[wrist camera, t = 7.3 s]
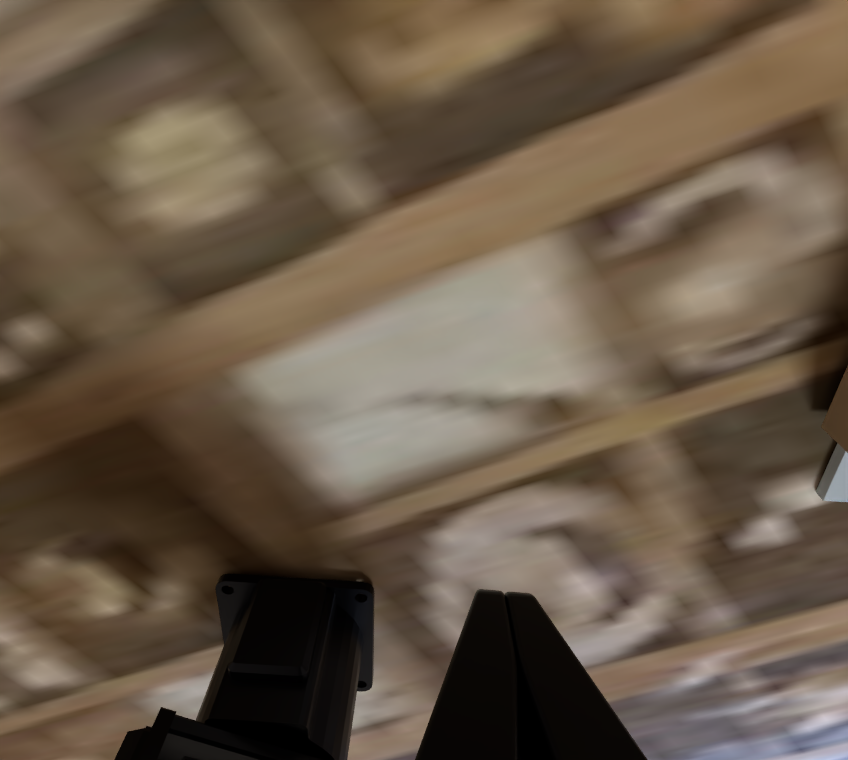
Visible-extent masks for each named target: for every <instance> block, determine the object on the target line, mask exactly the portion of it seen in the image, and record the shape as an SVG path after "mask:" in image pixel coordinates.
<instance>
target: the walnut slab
mask: <svg viewBox="0 0 848 760" xmlns="http://www.w3.org/2000/svg"><path fill="white" fill-rule="evenodd" d="M821 427H822V428H823V429H824V430H825V431H826V432H827V433H828V434H829V435H830V436H831V437H832V438H833V439H834V440H835V441H836V442H837V443H838V444H839V445H840V446H841V447H842V448H843V449H844V450H845V451H846V452H847V453H848V366H847V369H846V371H845V373H844V375H843V378H842V380H841V382H840V385H839V387H838V389H837V392H836V394H835V396H834V398H833V401H832V403H831V405H830V408H829V410H828V412H827V415H826V417H825V419H824V421H823V424H822V426H821Z"/></svg>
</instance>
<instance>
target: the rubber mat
mask: <svg viewBox="0 0 848 760" xmlns="http://www.w3.org/2000/svg"><path fill="white" fill-rule="evenodd" d="M816 493H817V494H818V495H819V496H820V497H821V499H822V500H823V501H838V502H848V453H847V452H846V451H845V450H844V449H843V448H842V447H841V446H840V445H839V444H838V443H837V445H836V447H835V450H834V452H833V454H832V456H831V459H830V461H829V463H828V465H827V468H826V470H825V472H824V474H823V477H822V479H821V481H820V483H819V486H818V488H817V490H816Z"/></svg>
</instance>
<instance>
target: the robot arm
mask: <svg viewBox="0 0 848 760" xmlns="http://www.w3.org/2000/svg"><path fill="white" fill-rule="evenodd" d="M229 586H231V587H229ZM361 594H365V595H361ZM216 595H217V601H218V607H219V614H220V620H221V626H222V633H223V639H224V647H223V650H222V653H221V655H220V658H219V660H218V663H217V666H216V668H215V671H214V674H213V676H212V679H211V681H210V684H209V687H208V689H207V692H206V695H205V697H204V700H203V703H202V705H201V708H200V710H199V713H198V716H197V718H196V721H195V720H192V719H188V718H185V717H182V716H178V715H175V714H176V711H173V710H169V709H166V708H163V707H161V709H160V711H159V713H158V715H157V718H156V720H155V722H154V724H153V726H152V727H149V726H146V728H143V729H138V730H133V731H129V732H127V734H126V736H125V739H124V741H123V743H122V745H121V747H120V749H119V751H118V753H117V755H116V758H115V760H347V757H348V750H349V743H350V736H351V729H352V722H353V715H354V708H355V700H356V693H357V691H367V690H369V689H370V688H371V687H372V683H373V653H374V588H373V587H372V586H371V585H370V584H368V583H366V582H357V581H341V580H324V579H307V578H290V577H274V576H257V575H240V574H225V575H222V576H221V577H220V578H219V580H218V583H217V585H216ZM415 760H647V758H646V757H645V755H644V754H643V753H642V751H641V750H640V748H639V747H638V745H637V744H636V742H635V741H634V740H633V738H632V737H631V735H630V734H629V732H628V731H627V729H626V728H625V727H624V725H623V724H622V722H621V721H620V719H619V718H618V716H617V715H616V714H615V712H614V711H613V709H612V708H611V706H610V705H609V704H608V702H607V701H606V699H605V698H604V696H603V695H602V693H601V692H600V691H599V689H598V688H597V686H596V685H595V683H594V682H593V680H592V679H591V678H590V676H589V675H588V673H587V672H586V670H585V669H584V667H583V666H582V665H581V663H580V662H579V660H578V659H577V657H576V656H575V654H574V653H573V652H572V650H571V649H570V647H569V646H568V644H567V643H566V641H565V640H564V639H563V637H562V636H561V634H560V633H559V631H558V630H557V628H556V627H555V626H554V624H553V623H552V621H551V620H550V618H549V617H548V615H547V614H546V613H545V611H544V610H543V608H542V607H541V605H540V604H539V602H538V601H537V600H536V598H535V597H534V596H533V595H532V594H529V593H519V592H507V593H505V595H504V594H503V592H501V591H496V590H484V589H479V590H477V592H476V593H475V596H474V599H473V601H472V604H471V607H470V610H469V612H468V615H467V618H466V621H465V623H464V626H463V629H462V632H461V635H460V637H459V640H458V643H457V646H456V648H455V651H454V654H453V657H452V659H451V662H450V665H449V668H448V670H447V673H446V676H445V679H444V681H443V684H442V687H441V690H440V693H439V695H438V698H437V701H436V704H435V706H434V709H433V712H432V715H431V717H430V720H429V723H428V726H427V728H426V731H425V734H424V737H423V739H422V742H421V745H420V748H419V750H418V753H417V756H416V759H415Z"/></svg>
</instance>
